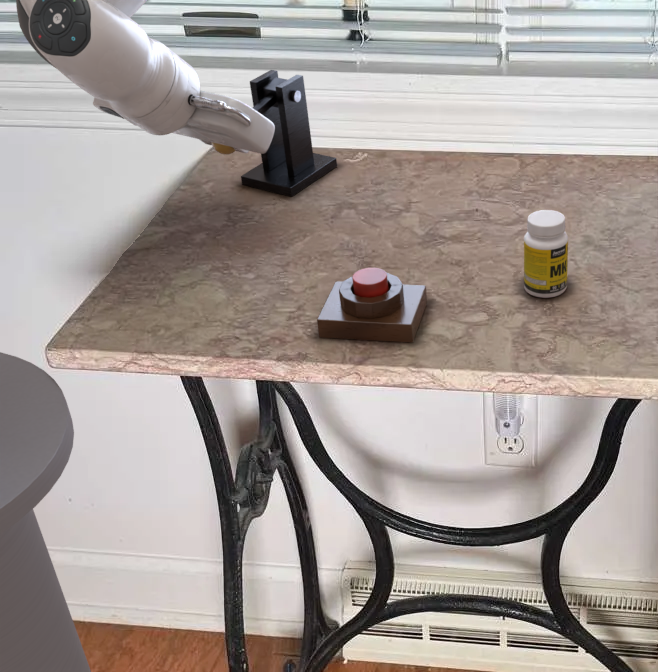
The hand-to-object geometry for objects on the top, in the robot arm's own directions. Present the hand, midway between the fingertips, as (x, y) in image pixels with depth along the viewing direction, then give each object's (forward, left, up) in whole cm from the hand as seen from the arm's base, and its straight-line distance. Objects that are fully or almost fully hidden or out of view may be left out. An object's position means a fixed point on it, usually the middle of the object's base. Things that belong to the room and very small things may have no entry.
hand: (229, 143), depth 143 cm
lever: (+5, +2, 0) cm, 5 cm away
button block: (-3, -33, -8) cm, 34 cm away
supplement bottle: (+15, -40, -9) cm, 44 cm away
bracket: (+9, +4, -8) cm, 13 cm away
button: (-3, -33, -5) cm, 34 cm away
